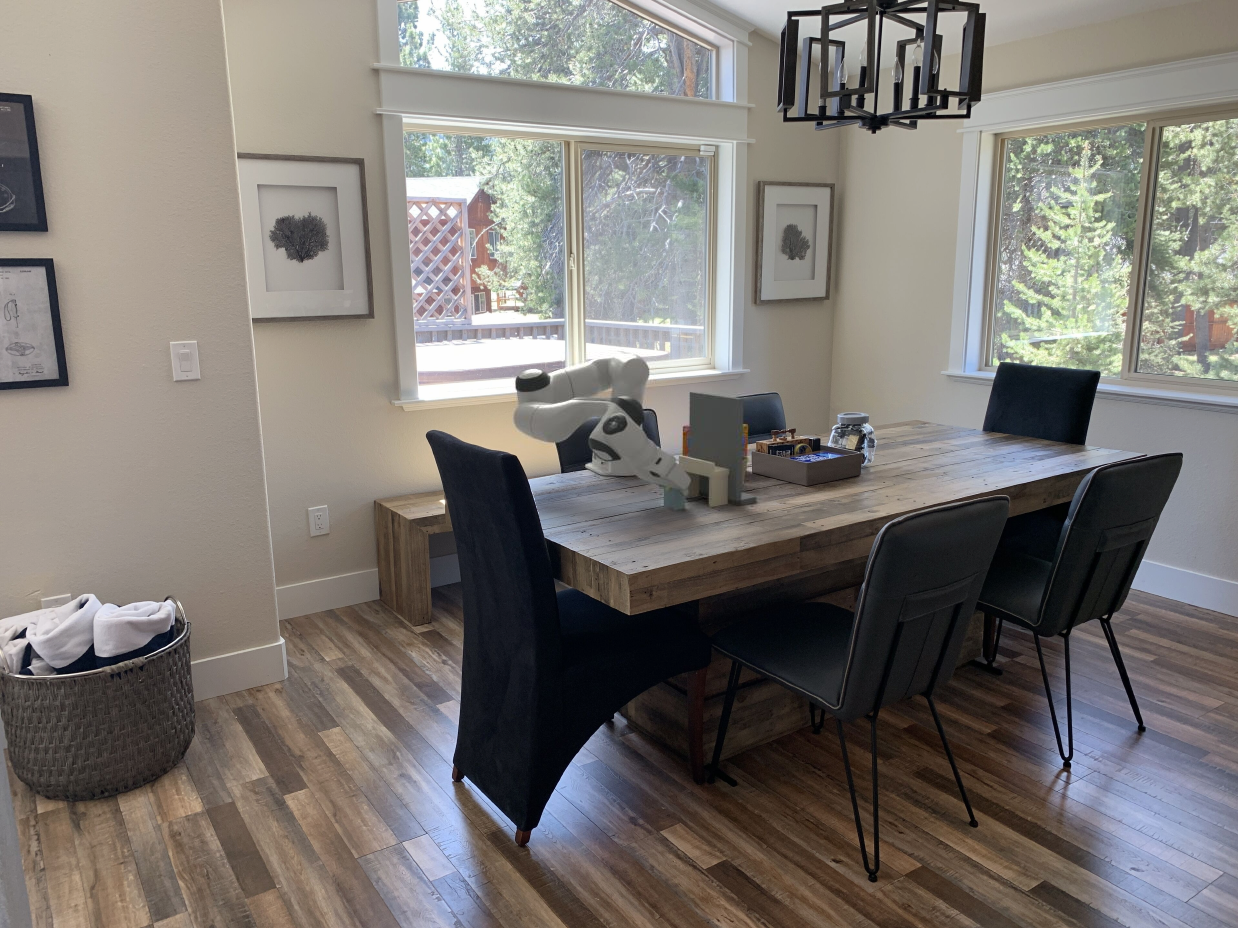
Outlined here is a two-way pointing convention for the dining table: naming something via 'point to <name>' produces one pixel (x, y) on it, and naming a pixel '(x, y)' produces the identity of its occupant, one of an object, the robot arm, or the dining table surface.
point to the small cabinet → (673, 498)
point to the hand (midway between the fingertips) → (674, 490)
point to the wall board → (715, 449)
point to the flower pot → (744, 467)
